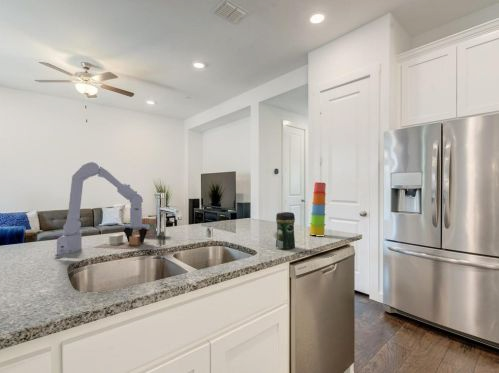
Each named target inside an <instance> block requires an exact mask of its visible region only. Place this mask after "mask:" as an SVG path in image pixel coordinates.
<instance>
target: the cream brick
mask: <svg viewBox="0 0 499 373" xmlns="http://www.w3.org/2000/svg"><path fill="white" fill-rule="evenodd" d="M108 236H109V238H108V241H109V242H108V243H109V244H119V243H121V242H123V241H124V234H117V233H116V234H111V235H108Z"/></svg>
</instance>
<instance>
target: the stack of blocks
mask: <svg viewBox="0 0 499 373" xmlns="http://www.w3.org/2000/svg"><path fill="white" fill-rule="evenodd" d="M156 217H157V216H142V224H143V225H150V229H148V231H147V233H146V235H145V237H155V238H158V237H157V231H156ZM125 224H130V221H127V222H125ZM137 228H138V227H137ZM139 230H140V229H133V232H132V236H133V235H140V233H139ZM124 235H125V237H126V234H125V233H124Z"/></svg>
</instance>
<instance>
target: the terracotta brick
mask: <svg viewBox="0 0 499 373" xmlns="http://www.w3.org/2000/svg"><path fill="white" fill-rule="evenodd" d="M129 244H136V245H138V244H140V235H133V236H130V237H129Z"/></svg>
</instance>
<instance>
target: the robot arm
mask: <svg viewBox="0 0 499 373" xmlns="http://www.w3.org/2000/svg"><path fill="white" fill-rule="evenodd" d="M95 176H97V177H98V178H103V179H105V180H106V181H108V182H109V183H110V184H111V185H113V186H114V187H116V189H117V190H116V191H117V192H118V194H119V195H120V196H122V197H123V198H124V199H125V200H128V201H129V203H130V208H129V222H130V224H122V227H121V228H122V230H123V231H122V232H124V235H125V234H126V236H125V237H126V241H128V242H129V237H130V236H132V232H133V229H140V230H139V233H140V243H143V242H145V238H146V236H145V235H146V233H147V231H148V229H150V225H143V224H142V217H143V207H142V206H143V205H142V203H143V202H144V199H143V197H142V195H140V194H139V193H138V191H137V190H135V189H133V188H132V187H131V185H130V184H127V183H122V182H121V181H119V180H118V179H117V178H116V177H115V176H114V175H112V174H111V172H109V170H107V169H105V168H103V167H102V166H99V165H98V163H97V162H94V161H90V162H87V163H85V164H81V166H80V167H79V168H78V169H77V171H75V173H74V174H73V175H72V177H71V184H70V193H69V202H68V211H67V212H68V213H67V216H66V222H65V223H64V224H63V226H62V227H63V228H62V230H63V233H62V235H61V236H59V237H58V238H57V240H56V253H55V254H54V255H56V256H60V255H64V254H70V253H73V252H78V251H82V247H83V246H82V242H83V241H82V235H83V233H82V231H81V230H80V229H81V227H82V223H81V220H80V218H81V217H80V215H81V206H82V196H83V187H84V181H86V180H87V179H90V178H92V177H95ZM137 227H138V228H137Z"/></svg>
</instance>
